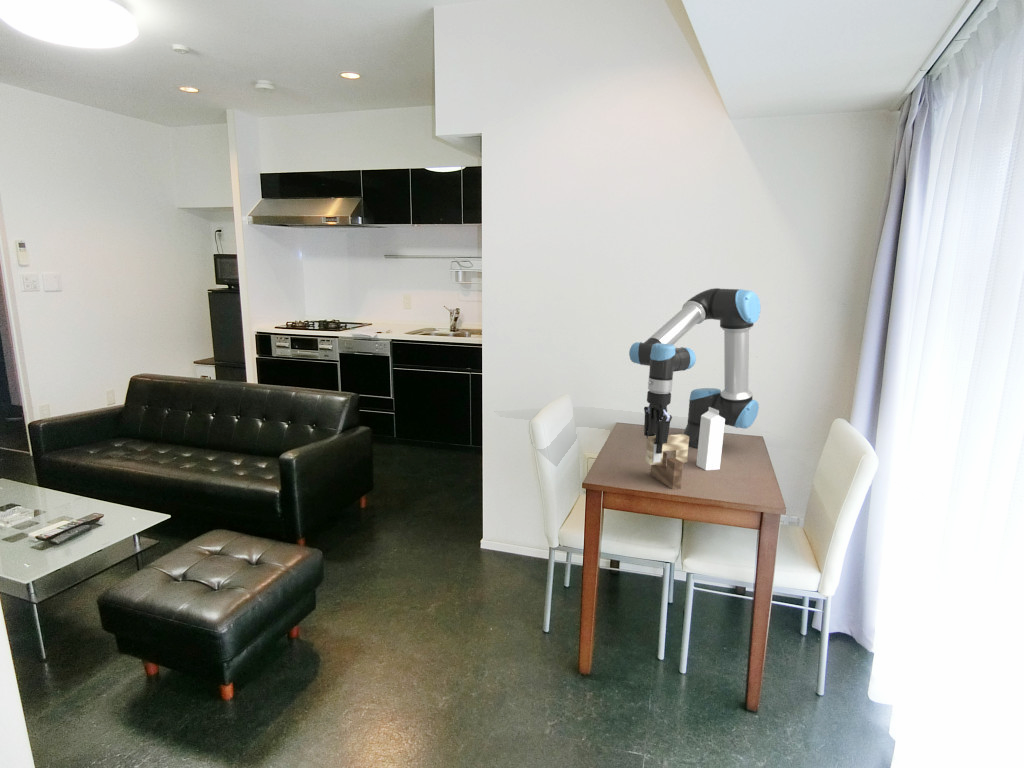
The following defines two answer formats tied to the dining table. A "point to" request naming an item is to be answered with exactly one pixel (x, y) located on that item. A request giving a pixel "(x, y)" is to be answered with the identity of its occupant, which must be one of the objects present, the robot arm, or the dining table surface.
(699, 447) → the milk
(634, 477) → the dining table surface
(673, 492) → the dining table surface
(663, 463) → the slotted base
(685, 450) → the cross plate
